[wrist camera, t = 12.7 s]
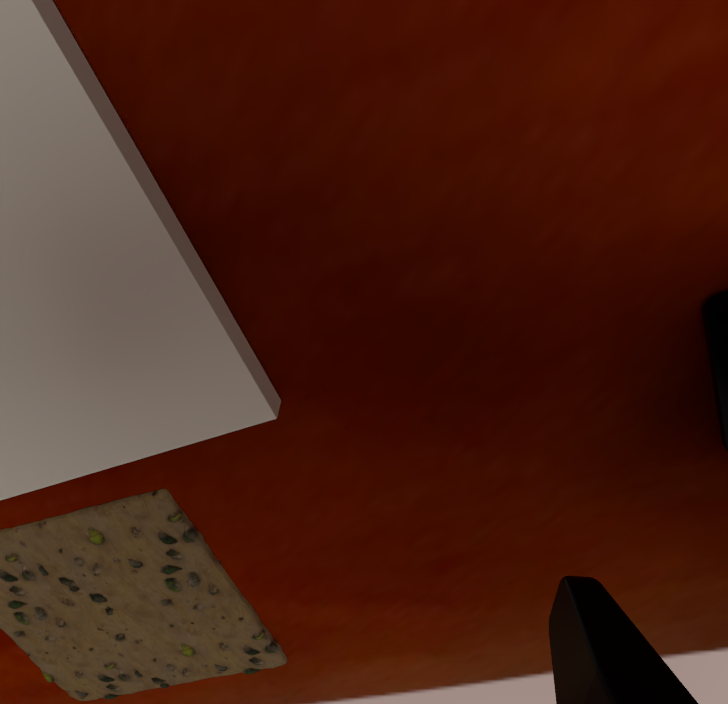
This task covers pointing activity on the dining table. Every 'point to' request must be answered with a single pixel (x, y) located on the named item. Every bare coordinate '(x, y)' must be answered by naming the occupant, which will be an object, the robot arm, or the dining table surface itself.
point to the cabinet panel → (98, 283)
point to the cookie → (126, 601)
